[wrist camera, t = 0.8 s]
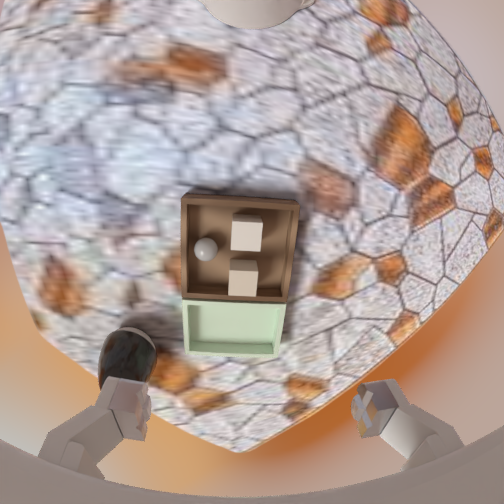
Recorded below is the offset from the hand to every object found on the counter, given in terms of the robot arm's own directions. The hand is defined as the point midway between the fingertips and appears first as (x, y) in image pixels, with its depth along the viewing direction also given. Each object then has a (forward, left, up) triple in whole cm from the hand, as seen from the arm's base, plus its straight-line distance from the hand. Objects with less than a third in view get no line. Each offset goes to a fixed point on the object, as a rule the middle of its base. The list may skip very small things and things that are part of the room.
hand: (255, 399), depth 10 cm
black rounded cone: (+27, -18, -35) cm, 47 cm away
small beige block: (+4, +1, -34) cm, 34 cm away
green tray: (+20, 0, -35) cm, 40 cm away
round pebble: (+7, -4, -34) cm, 35 cm away
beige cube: (+11, +1, -34) cm, 36 cm away
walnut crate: (+7, 0, -35) cm, 35 cm away
